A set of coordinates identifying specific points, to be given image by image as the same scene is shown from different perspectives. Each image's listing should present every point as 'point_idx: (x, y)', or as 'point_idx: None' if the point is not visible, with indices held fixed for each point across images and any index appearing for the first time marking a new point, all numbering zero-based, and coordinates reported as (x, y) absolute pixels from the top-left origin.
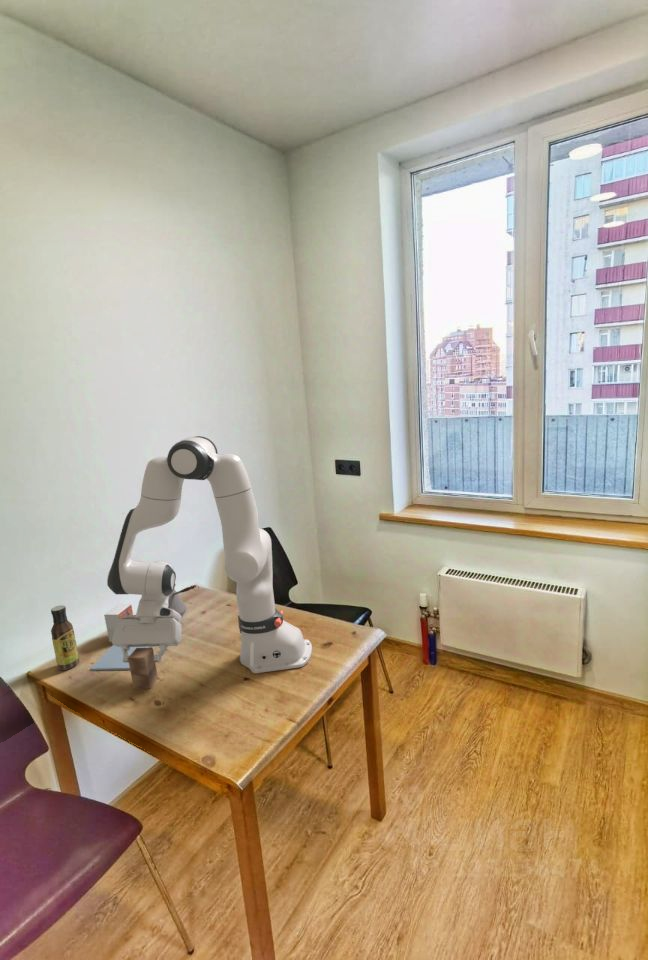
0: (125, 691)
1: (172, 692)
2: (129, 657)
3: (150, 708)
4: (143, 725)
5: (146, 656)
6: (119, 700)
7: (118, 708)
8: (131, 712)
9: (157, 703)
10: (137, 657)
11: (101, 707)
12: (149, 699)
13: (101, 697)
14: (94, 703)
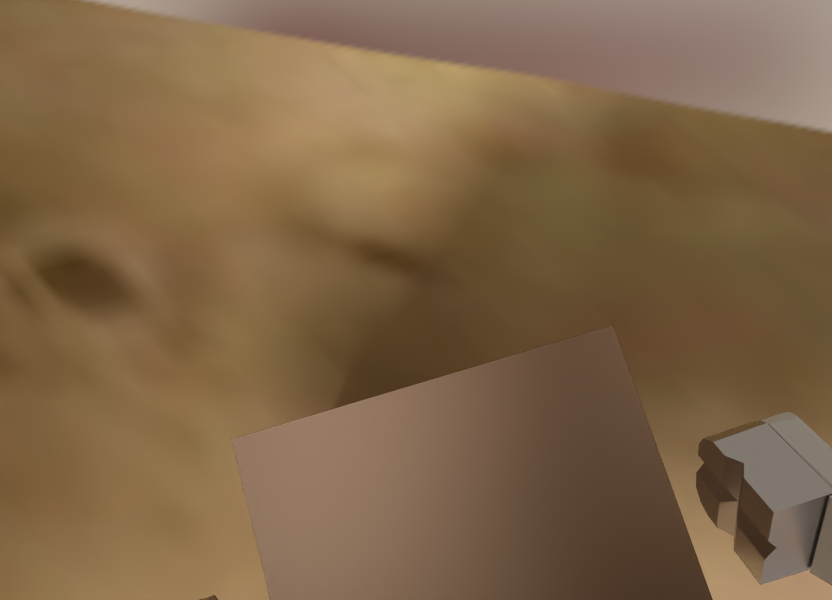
0: (551, 331)
1: (28, 456)
2: (585, 343)
3: (105, 198)
4: (24, 18)
5: (255, 520)
6: (497, 209)
7: (414, 122)
8: (250, 112)
9: (82, 272)
10: (397, 391)
11: (582, 94)
12: (206, 298)
13: (709, 197)
14: (695, 117)
